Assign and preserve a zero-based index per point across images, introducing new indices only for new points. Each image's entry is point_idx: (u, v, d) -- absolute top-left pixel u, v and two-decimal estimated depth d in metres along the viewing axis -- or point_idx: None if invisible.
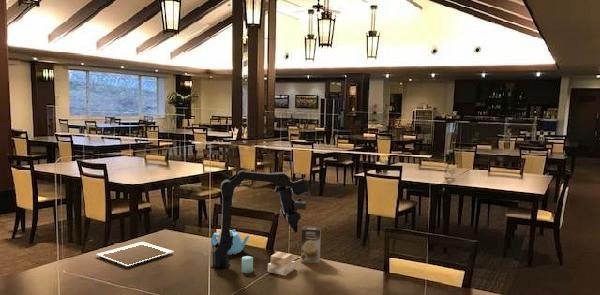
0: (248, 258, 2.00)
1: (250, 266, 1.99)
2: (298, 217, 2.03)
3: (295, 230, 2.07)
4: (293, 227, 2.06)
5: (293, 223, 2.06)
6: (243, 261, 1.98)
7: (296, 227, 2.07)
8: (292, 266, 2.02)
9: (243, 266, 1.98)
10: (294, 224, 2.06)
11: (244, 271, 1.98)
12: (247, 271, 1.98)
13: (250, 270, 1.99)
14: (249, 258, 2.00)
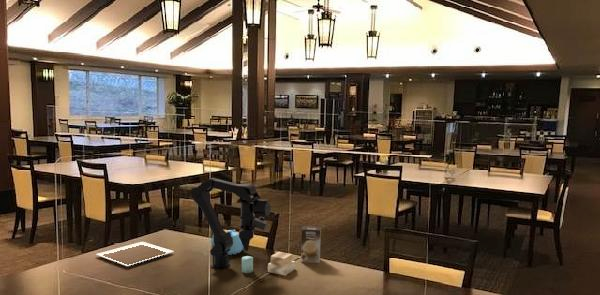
0: (248, 258, 2.00)
1: (250, 266, 1.99)
2: (250, 236, 1.90)
3: (245, 248, 1.95)
4: (244, 244, 1.94)
5: (245, 240, 1.94)
6: (243, 261, 1.98)
7: (247, 245, 1.94)
8: (292, 266, 2.02)
9: (243, 266, 1.98)
10: (246, 242, 1.94)
11: (244, 271, 1.98)
12: (247, 271, 1.98)
13: (250, 270, 1.99)
14: (249, 258, 2.00)
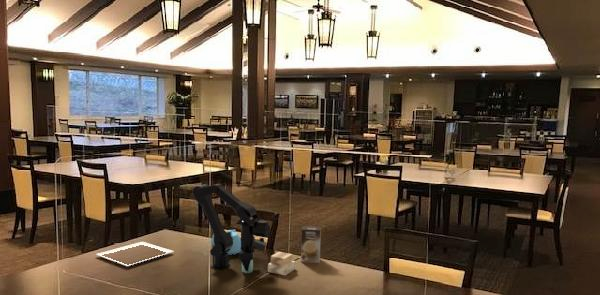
0: None
1: (250, 266, 1.99)
2: (250, 258, 1.91)
3: (246, 268, 1.97)
4: (244, 265, 1.97)
5: (245, 261, 1.96)
6: None
7: (247, 266, 1.97)
8: (293, 266, 2.02)
9: (243, 266, 1.98)
10: (246, 262, 1.96)
11: (244, 271, 1.98)
12: (247, 271, 1.98)
13: (250, 270, 1.99)
14: None
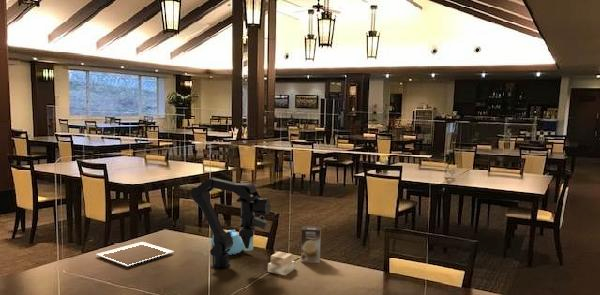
0: None
1: (250, 244, 1.98)
2: (250, 234, 1.90)
3: (246, 246, 1.96)
4: (244, 242, 1.96)
5: (245, 238, 1.95)
6: None
7: (248, 243, 1.96)
8: (292, 266, 2.02)
9: (243, 244, 1.98)
10: (246, 239, 1.95)
11: (244, 249, 1.97)
12: None
13: (250, 248, 1.98)
14: None
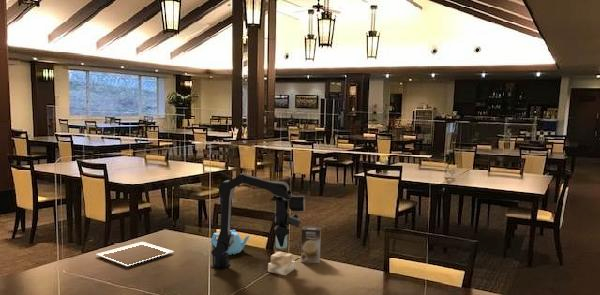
0: None
1: (285, 242, 1.99)
2: (286, 233, 1.91)
3: (281, 244, 1.98)
4: (279, 240, 1.97)
5: (280, 236, 1.97)
6: None
7: (282, 241, 1.97)
8: (293, 266, 2.02)
9: (278, 242, 1.99)
10: (281, 237, 1.97)
11: (279, 247, 1.99)
12: None
13: (285, 246, 1.99)
14: None
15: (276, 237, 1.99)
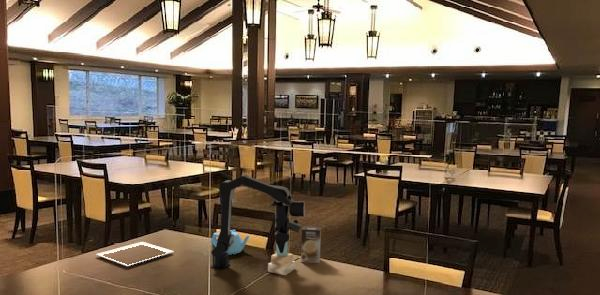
0: None
1: (285, 250, 1.99)
2: (286, 238, 1.91)
3: (281, 250, 1.96)
4: (279, 247, 1.95)
5: (280, 243, 1.95)
6: None
7: (282, 248, 1.95)
8: (293, 266, 2.02)
9: (278, 250, 1.99)
10: (281, 244, 1.95)
11: (279, 255, 1.99)
12: (282, 254, 1.99)
13: (285, 254, 1.99)
14: None
15: None
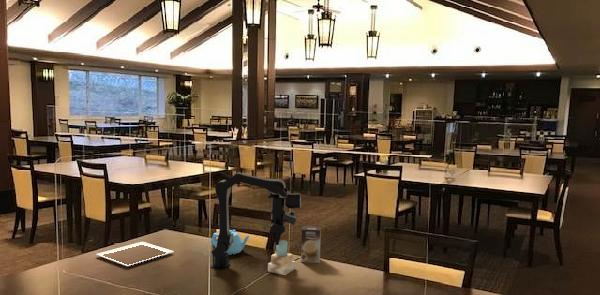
0: (283, 242, 2.00)
1: (285, 250, 1.99)
2: (281, 230, 1.92)
3: (276, 242, 1.97)
4: (275, 239, 1.96)
5: (276, 234, 1.96)
6: (278, 245, 1.99)
7: (278, 239, 1.97)
8: (292, 266, 2.02)
9: (278, 250, 1.99)
10: (277, 236, 1.96)
11: (279, 255, 1.99)
12: (282, 254, 1.99)
13: (285, 254, 2.00)
14: (284, 242, 2.00)
15: (276, 245, 2.00)
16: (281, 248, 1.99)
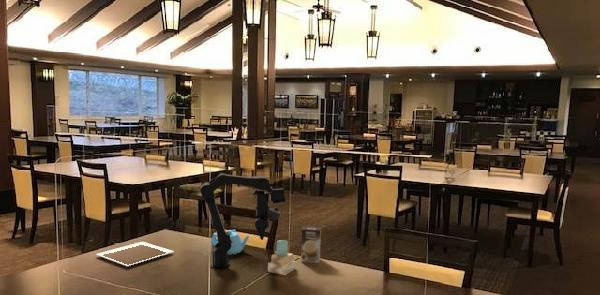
0: (283, 242, 2.01)
1: (285, 250, 2.00)
2: (266, 225, 1.99)
3: (261, 237, 2.04)
4: (260, 233, 2.03)
5: (260, 229, 2.03)
6: (278, 245, 1.99)
7: (263, 234, 2.03)
8: (293, 266, 2.02)
9: (278, 250, 1.99)
10: (261, 231, 2.03)
11: (279, 255, 1.99)
12: (282, 254, 1.99)
13: (285, 254, 2.00)
14: (284, 242, 2.01)
15: (277, 245, 2.00)
16: (281, 248, 1.99)
